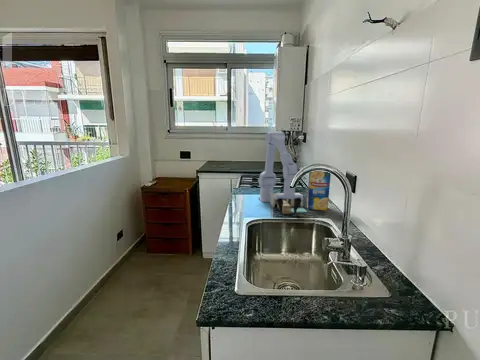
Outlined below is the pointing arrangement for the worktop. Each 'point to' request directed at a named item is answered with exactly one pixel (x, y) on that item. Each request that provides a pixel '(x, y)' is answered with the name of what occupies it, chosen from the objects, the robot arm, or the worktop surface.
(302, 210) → the teal mat
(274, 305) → the worktop surface
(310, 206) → the beverage box
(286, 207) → the beech bar
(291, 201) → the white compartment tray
